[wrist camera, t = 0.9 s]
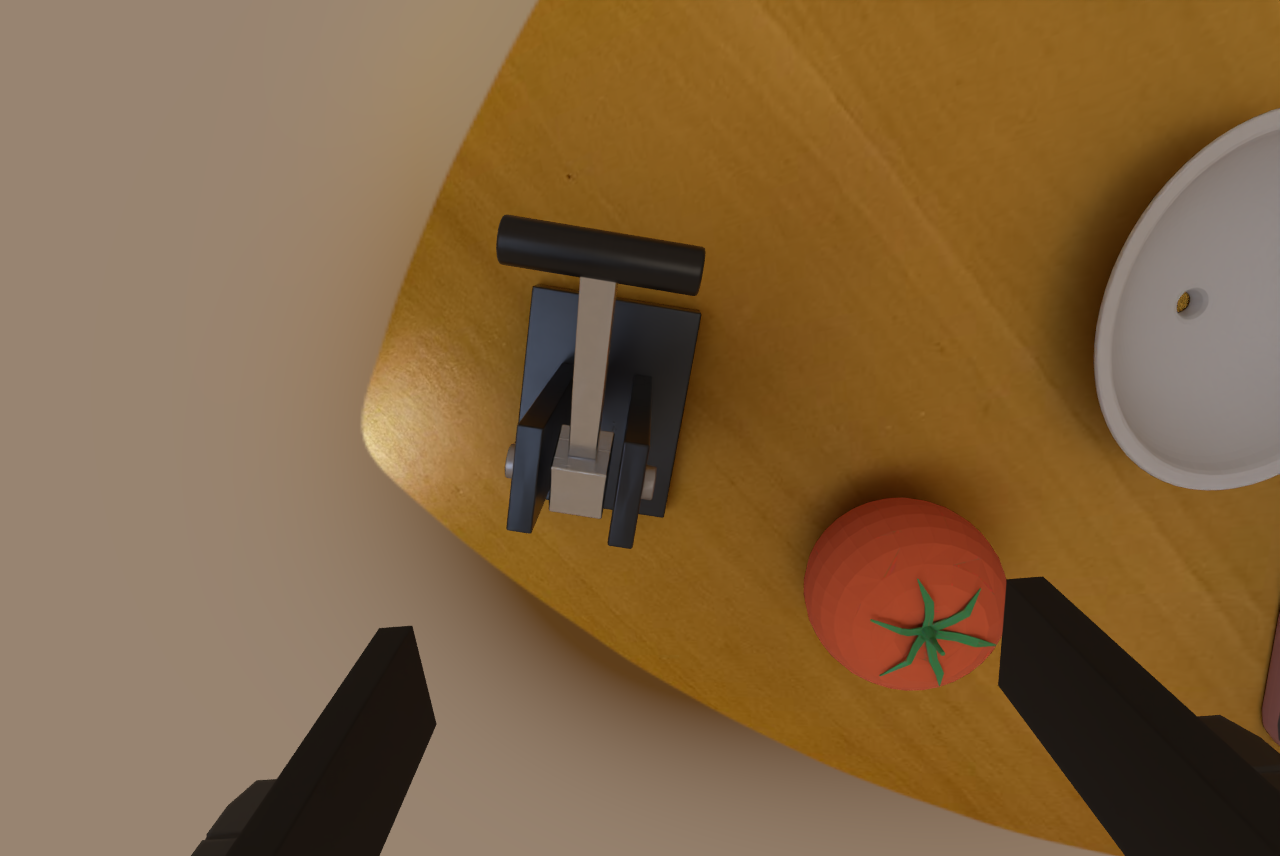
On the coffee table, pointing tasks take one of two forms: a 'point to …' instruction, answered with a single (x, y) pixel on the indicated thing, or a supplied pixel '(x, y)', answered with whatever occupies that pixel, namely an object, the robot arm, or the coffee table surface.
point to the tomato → (905, 593)
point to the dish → (1200, 320)
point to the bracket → (633, 405)
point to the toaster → (1273, 692)
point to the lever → (593, 331)
